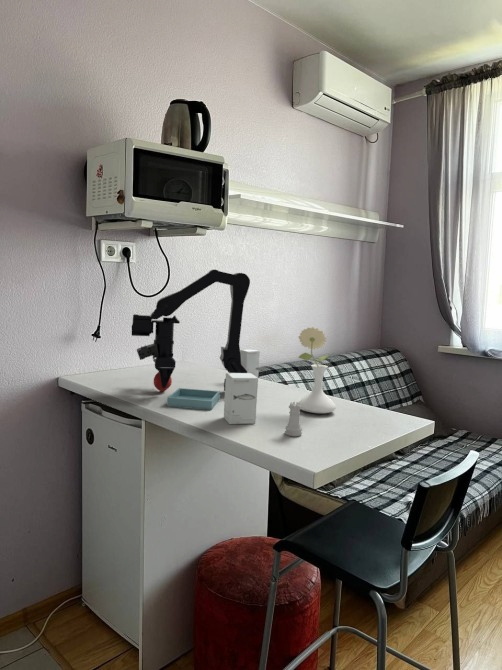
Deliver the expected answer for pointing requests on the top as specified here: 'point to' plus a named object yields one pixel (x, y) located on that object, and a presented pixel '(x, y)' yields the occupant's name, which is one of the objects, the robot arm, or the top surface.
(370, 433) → the top surface
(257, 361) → the skincare box
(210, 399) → the tray
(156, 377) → the onion
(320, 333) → the flower in vase
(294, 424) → the rook chess piece
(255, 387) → the supplement box
